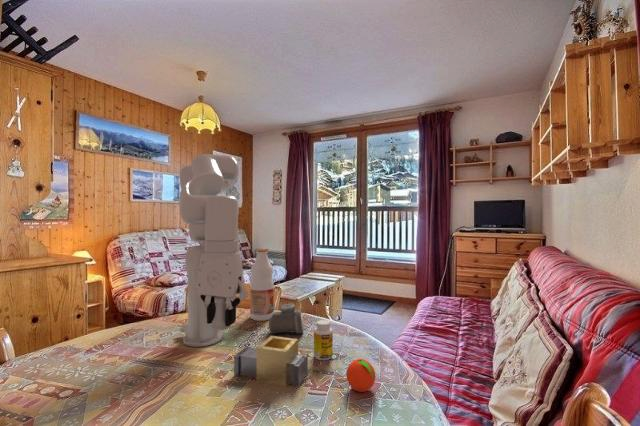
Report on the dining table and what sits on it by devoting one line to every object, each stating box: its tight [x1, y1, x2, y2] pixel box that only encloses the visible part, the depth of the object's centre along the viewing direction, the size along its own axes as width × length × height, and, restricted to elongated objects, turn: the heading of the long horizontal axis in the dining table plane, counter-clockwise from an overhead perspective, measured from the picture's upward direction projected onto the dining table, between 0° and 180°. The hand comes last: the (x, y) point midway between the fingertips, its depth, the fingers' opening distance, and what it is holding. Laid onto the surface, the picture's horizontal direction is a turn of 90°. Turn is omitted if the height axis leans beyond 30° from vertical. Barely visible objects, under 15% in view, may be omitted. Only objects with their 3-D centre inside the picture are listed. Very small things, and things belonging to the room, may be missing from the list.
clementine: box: [346, 358, 376, 393], centre depth 74 cm, size 8×7×7 cm
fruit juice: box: [249, 247, 275, 322], centre depth 127 cm, size 9×9×28 cm
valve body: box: [233, 335, 309, 388], centre depth 81 cm, size 18×8×8 cm, turn 72°
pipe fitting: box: [268, 302, 304, 335], centre depth 110 cm, size 12×8×10 cm
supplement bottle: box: [313, 319, 334, 361], centre depth 92 cm, size 6×6×10 cm
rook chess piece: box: [211, 297, 231, 331], centre depth 75 cm, size 4×4×8 cm
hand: (221, 322), depth 75 cm, fingers closed on rook chess piece, 4 cm apart
